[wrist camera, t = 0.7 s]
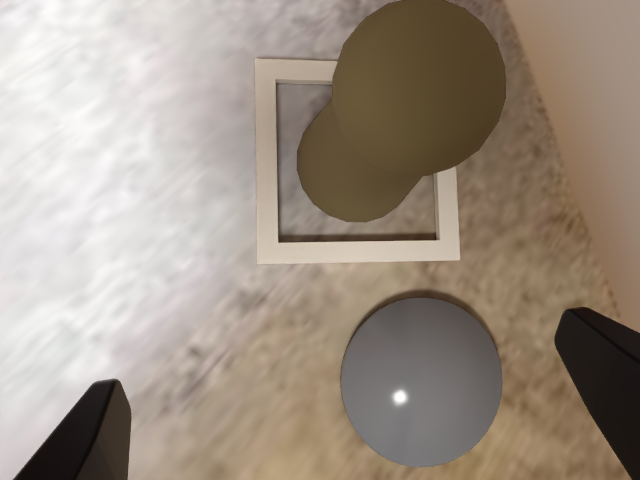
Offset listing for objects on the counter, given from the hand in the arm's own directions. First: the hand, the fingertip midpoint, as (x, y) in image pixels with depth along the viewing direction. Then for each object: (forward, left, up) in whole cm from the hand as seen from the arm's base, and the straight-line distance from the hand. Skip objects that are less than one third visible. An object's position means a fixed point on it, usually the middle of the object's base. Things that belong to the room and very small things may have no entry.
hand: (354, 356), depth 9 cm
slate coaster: (-2, -6, -13) cm, 15 cm away
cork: (+8, -1, -14) cm, 16 cm away
